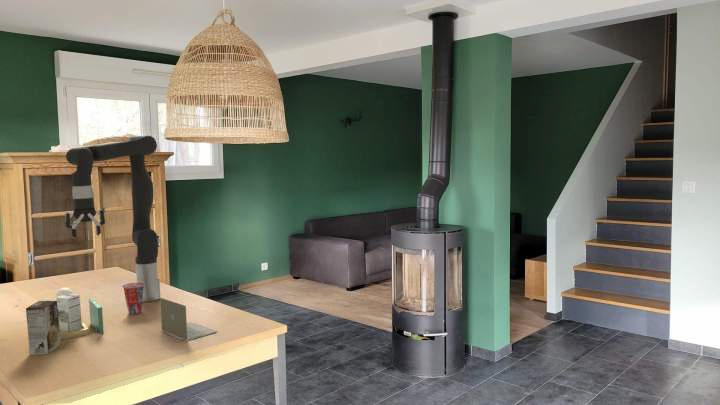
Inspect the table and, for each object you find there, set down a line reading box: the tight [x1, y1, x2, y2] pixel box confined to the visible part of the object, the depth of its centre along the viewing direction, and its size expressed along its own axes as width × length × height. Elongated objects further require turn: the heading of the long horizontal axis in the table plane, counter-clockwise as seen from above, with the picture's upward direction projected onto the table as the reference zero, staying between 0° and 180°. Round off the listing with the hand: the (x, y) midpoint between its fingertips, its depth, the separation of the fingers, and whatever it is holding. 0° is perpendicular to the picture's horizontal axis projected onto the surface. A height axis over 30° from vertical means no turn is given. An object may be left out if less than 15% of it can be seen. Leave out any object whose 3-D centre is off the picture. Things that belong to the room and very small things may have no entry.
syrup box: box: [55, 293, 82, 333], centre depth 203 cm, size 6×6×14 cm
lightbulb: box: [55, 287, 74, 297], centre depth 231 cm, size 6×6×11 cm
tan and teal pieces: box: [60, 298, 104, 341], centre depth 205 cm, size 15×16×10 cm
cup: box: [122, 282, 144, 316], centre depth 229 cm, size 9×8×12 cm
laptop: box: [159, 297, 218, 342], centre depth 202 cm, size 18×12×13 cm
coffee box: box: [25, 300, 61, 356], centre depth 186 cm, size 9×6×16 cm
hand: (86, 236), depth 223 cm, fingers open, 8 cm apart
